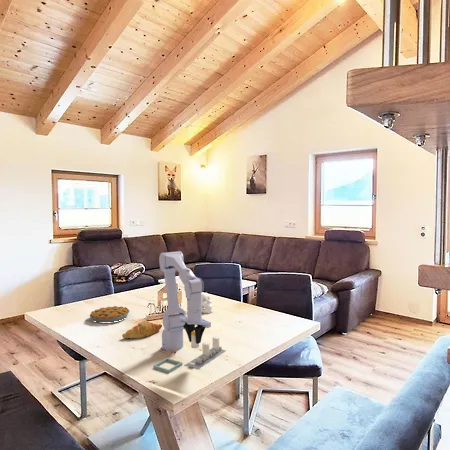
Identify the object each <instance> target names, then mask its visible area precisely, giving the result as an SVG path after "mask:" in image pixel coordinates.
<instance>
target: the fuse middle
mask: <svg viewBox="0 0 450 450" xmlns="http://www.w3.org/2000/svg"><path fill="white" fill-rule="evenodd" d="M210 347H211V346H210V343H209V342H207V341H205V342H203V343H202V354H203V356H205V357H206V359H209V358H210V349H211V348H210Z"/></svg>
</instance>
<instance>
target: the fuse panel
mask: <svg viewBox="0 0 450 450" xmlns="http://www.w3.org/2000/svg"><path fill="white" fill-rule="evenodd" d="M225 352H227V350H225V349H222V346H220V345H219V352H218V353H216V350H213V347H212V348H210V358H209V359H206V357H205V356H203V353H202V354H200V355H199V356H197V357H195V358H194V359H192V360H191V361H189V362H186V364H184V367H188V368H192V369H195V370H200V369H202V368H203V367H205V366H206V365H208V364H209V363H210V362H212V361H213V360H215V359H217V357H220V355H222V354H224V353H225Z"/></svg>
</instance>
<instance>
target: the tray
mask: <svg viewBox="0 0 450 450" xmlns="http://www.w3.org/2000/svg"><path fill="white" fill-rule="evenodd" d="M166 362H168V363H173V364H175V365H174V366H173V367H170V368H165V367H162V366H161V365H163V364H165V363H166ZM181 366H183V362H182V361H180V360H179V361H178V360H175V359H173V358H172V359H171V358H169V357H167V358H164V359H162V360H161V361H159V362H157V363H155V364H153V367H152V368H153V369H154V370H158V371H161V372H164V373H168V374H170V373H171V372H173V371H174V370H176V369H178V368H180V367H181Z"/></svg>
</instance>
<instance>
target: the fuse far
mask: <svg viewBox="0 0 450 450" xmlns="http://www.w3.org/2000/svg"><path fill="white" fill-rule="evenodd" d="M211 339H212V348H213V350H216V353H218V352H219V346H220V337H219V336H213V337H212V338H211Z"/></svg>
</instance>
